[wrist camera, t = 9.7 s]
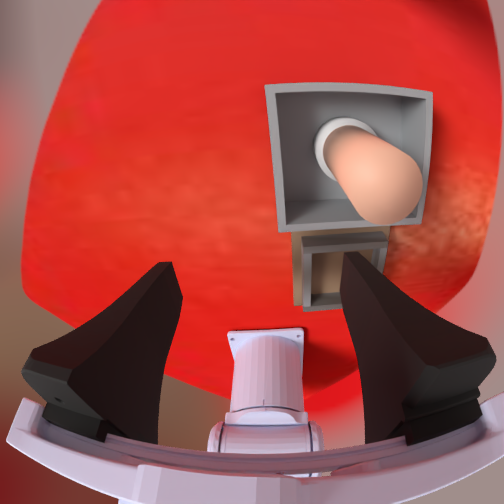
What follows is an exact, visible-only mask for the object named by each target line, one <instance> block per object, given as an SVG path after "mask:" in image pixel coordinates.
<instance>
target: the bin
mask: <svg viewBox="0 0 504 504" xmlns="http://www.w3.org/2000/svg"><path fill="white" fill-rule="evenodd" d="M265 93H266V102H267V112H268V121H269V131H270V140H271V151H272V161H273V172H274V183H275V195H276V207H277V219H278V232H279V233H280V232H294V231H309V230H324V229H340V228H357V227H374V226H393V225H413V224H421V222H422V216H423V211H424V204H425V198H426V191H427V184H428V175H429V166H430V155H431V142H432V119H433V92H428V91H423V90H416V89H409V88H402V87H394V86H384V85H373V84H358V83H286V84H270V85H265ZM339 116H347V117H351V118H354V119H357V120H359V121H361V122H363V123H365V124H367V125H368V126H369V127H370V128H371V129H372V130H373V131H374V132H375V134H376V135H377V137H379V138H380V139H382V140H384V141H386V142H387V143H389V144H391V145H392V146H394V147H396V148H398V149H399V150H401V151H402V152H404V153H406V154H407V155H409V156H410V157H411V158H412V159H413V160H414V161H415V162H416V163H417V165H418V167H419V169H420V171H421V174H422V181H423V187H422V193H421V197H420V199H419V202H418V204H417V205H416V207H415V208H414V210H413V211H412V212H411V213H410V214H409V215H408V216H407V217H405V218H404V219H402V220H400V221H399V222H396V223H393V224H389V225H378V224H373V223H371V222H368V221H367V220H365V219H364V218H363V217H361V216H360V215H359V213H358V212H357V211H356V209H355V207H354V206H353V204H352V203H351V201H350V200H349V198H348V197H347V195H346V193H345V192H344V190H343V189H342V187H341V186H340V184H339V183H338V182H337V181H335V180H333V179H331V178H330V177H328V176H327V175H326V174H325V173H324V172H323V170H322V169H321V167H320V166H319V164H318V162H317V161H316V159H315V156H314V152H313V140H314V136H315V134H316V132H317V130H318V129H319V127H320V126H321V125H322V124H323V123H324V122H326V121H327V120H329V119H331V118H334V117H339Z"/></svg>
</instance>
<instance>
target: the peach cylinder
mask: <svg viewBox="0 0 504 504" xmlns="http://www.w3.org/2000/svg"><path fill="white" fill-rule="evenodd" d="M313 152H314V156H315V159H316V161H317V162H318V164H319V166H320V167H321V169H322V170H323V172H324V173H325V174H326V175H327V176H328V177H330V178H331V179H333V180H335V181H337V182H338V183H339V184H340V186H341V187H342V189H343V190H344V192H345V193H346V195H347V197H348V198H349V200H350V201H351V203H352V204H353V206H354V207H355V209H356V211H357V212H358V213H359V215H360V216H361V217H363V218H364V219H365V220H367V221H368V222H371V223H373V224H378V225H389V224H393V223H396V222H399V221H400V220H402V219H404V218H405V217H407V216H408V215H409V214H410V213H411V212H412V211H413V210H414V208H415V207H416V205H417V204H418V202H419V199H420V197H421V193H422V187H423V181H422V174H421V171H420V169H419V167H418V165H417V163H416V162H415V161H414V160H413V159H412V158H411V157H410V156H409V155H407V154H406V153H404V152H402V151H401V150H399V149H398V148H396V147H394V146H392V145H391V144H389V143H387V142H386V141H384V140H382V139H380V138H379V137H377V135H376V134H375V132H374V131H373V130H372V129H371V128H370V127H369V126H368V125H367V124H365V123H363V122H361V121H359V120H357V119H354V118H351V117H347V116H339V117H334V118H331V119H329V120H327V121H326V122H324V123H323V124H322V125H321V126H320V127H319V129H318V130H317V132H316V134H315V136H314V140H313Z"/></svg>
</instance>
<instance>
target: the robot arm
mask: <svg viewBox="0 0 504 504" xmlns="http://www.w3.org/2000/svg"><path fill="white" fill-rule="evenodd" d="M339 291H340V296H341V302H342V307H343V312H344V315H345V318H346V322H347V325H348V328H349V331H350V335H351V338H352V341H353V345H354V348H355V352H356V356H357V360H358V365H359V372H360V378H361V386H362V394H363V405H364V420H365V444H364V445H359V446H353V447H346V448H340V449H333V450H324V440H323V433H322V429H321V427H320V426H319V425H317V424H316V422H315V421H309V422H308V414H307V412H304V402H303V387H302V370H303V346H304V330H303V329H302V328H287V329H271V330H249V331H230V332H228V335H227V337H228V340H229V344H230V347H231V351H232V354H233V358H234V361H235V366H234V376H233V386H232V396H231V406H230V413H226V417H225V422H221V421H220V422H218V423H217V424H216V425H215V426H214V427H213V428H212V430H211V432H210V436H209V441H208V449H207V451H197V450H188V449H181V448H174V447H167V446H162V445H158V416H159V403H160V393H161V385H162V379H163V374H164V368H165V364H166V360H167V356H168V353H169V350H170V346H171V343H172V340H173V337H174V334H175V330H176V327H177V324H178V321H179V317H180V312H181V306H182V300H183V296H182V293H181V290H180V287H179V284H178V281H177V277H176V274H175V271H174V268H173V264H172V262H159V263H157V264H156V265H155V266H154V267H152V268H151V269H150V270H149V271H148V272H147V273H146V274H145V275H144V276H143V277H141V278H140V279H139V280H138V281H137V282H136V283H135V284H134V285H133V286H132V287H131V288H130V289H128V290H127V291H126V292H125V293H124V294H123V295H122V296H120V297H119V298H118V299H117V300H116V301H115V302H113V303H112V304H111V305H110V306H109V307H107V308H106V309H105V310H103V311H102V312H101V313H99V314H98V315H97V316H95V317H94V318H92V319H91V320H89V321H88V322H86V323H85V324H83V325H81V326H80V327H78V328H77V329H75V330H73V331H71V332H70V333H68V334H66V335H64V336H62V337H60V338H58V339H56V340H54V341H52V342H49V343H47V344H44V345H42V346H40V347H37V348H34V349H33V350H32V352H31V354H30V356H29V357H28V360H27V361H26V363H25V365H24V367H23V368H22V371H21V372H22V376H23V378H24V379H25V381H26V382H27V383H28V384H29V385H30V386H31V387H32V388H33V389H34V390H35V391H36V392H37V393H38V394H39V395H40V396H41V397H42V398H43V399H44V400H46V401H47V404H46V406H45V407H43V406H42V405H40V404H39V403H37V402H34V401H32V400H30V399H27V398H23V400H22V402H21V404H20V407H19V409H18V411H17V414H16V416H15V419H14V421H13V424H12V426H11V429H10V431H9V434H8V437H7V439H6V441H7V443H9V444H10V445H12V446H13V447H15V448H16V449H18V450H19V451H21V452H22V453H24V454H26V455H27V456H29V457H30V458H32V459H34V460H36V461H37V462H39V463H41V464H42V465H44V466H46V467H48V468H50V469H51V470H53V471H55V472H57V473H59V474H61V475H63V476H65V477H67V478H69V479H71V480H74V481H76V482H78V483H80V484H83V485H85V486H87V487H90V488H92V489H94V490H97V491H100V492H102V493H104V494H107V495H110V496H113V497H116V498H118V499H119V503H118V504H399V503H403V502H406V501H409V500H412V499H415V498H418V497H421V496H424V495H426V494H429V493H431V492H434V491H437V490H439V489H441V488H444V487H446V486H448V485H451V484H453V483H455V482H457V481H459V480H462V479H463V478H466V477H468V476H470V475H472V474H473V473H475V472H477V471H479V470H481V469H483V468H485V467H487V466H488V465H490V464H492V463H493V462H495V461H497V460H498V459H500V458H502V457H503V456H504V392H502V393H500V394H498V395H496V396H493V397H491V398H489V399H487V400H485V401H484V402H482V403H481V404H480V405H479V403H478V400H477V398H478V397H479V396H480V391H479V389H478V386H479V385H480V384H481V383H482V382H483V380H484V379H485V378H486V377H487V376H488V374H489V373H490V372H491V370H492V369H493V368H494V365H495V363H496V355H495V353H494V351H493V349H492V347H491V345H490V344H489V342H488V340H487V338H486V337H483V336H480V335H478V334H475V333H473V332H470V331H467V330H465V329H463V328H461V327H458V326H457V325H455V324H452V323H450V322H449V321H447V320H445V319H443V318H441V317H439V316H438V315H436V314H434V313H433V312H431V311H429V310H428V309H426V308H425V307H423V306H422V305H420V304H419V303H417V302H416V301H415V300H413V299H412V298H410V297H409V296H408V295H406V294H405V293H404V292H403V291H401V290H400V289H399V288H398V287H397V286H395V285H394V284H393V283H392V282H391V281H389V280H388V279H387V278H386V277H385V276H384V275H383V274H382V273H381V272H380V271H378V270H377V269H376V268H375V267H374V266H373V265H372V264H371V263H370V262H369V261H368V260H367V259H366V258H365V257H364V256H362V255H361V254H360V253H359V252H358V251H356V252H344V255H343V265H342V274H341V282H340V290H339ZM329 471H332V472H331V476H322V477H321V474H322V472H329Z"/></svg>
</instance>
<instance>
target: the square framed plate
mask: <svg viewBox="0 0 504 504" xmlns="http://www.w3.org/2000/svg"><path fill="white" fill-rule="evenodd" d="M389 233H390V226H374V227H357V228H340V229H324V230H309V231H294V232H291V240H292V265H293V299H294V306H301V305H303V312H308V311H320V310H331V309H341V308H343V307H342V302H341V296H340V291H339V290H340V282H341V274H342V265H343V255H344V252H356V251H358V252H359V253H360V254H361V255H362V256H364V257H365V258H366V259H367V260H368V261H369V262H370V263H371V264H372V265H373V266H374V267H375V268H376V269H377V270H378V271H380V272H381V273H382V274H383V270H384V265H385V259H386V254H387V248H388V242H389V241H388V240H389Z"/></svg>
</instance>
